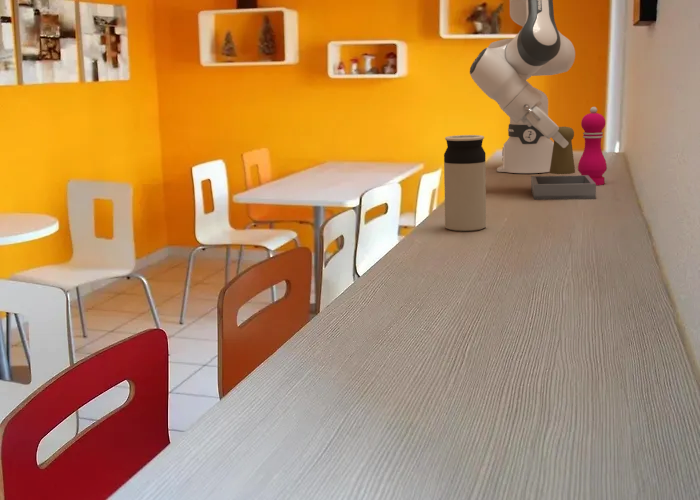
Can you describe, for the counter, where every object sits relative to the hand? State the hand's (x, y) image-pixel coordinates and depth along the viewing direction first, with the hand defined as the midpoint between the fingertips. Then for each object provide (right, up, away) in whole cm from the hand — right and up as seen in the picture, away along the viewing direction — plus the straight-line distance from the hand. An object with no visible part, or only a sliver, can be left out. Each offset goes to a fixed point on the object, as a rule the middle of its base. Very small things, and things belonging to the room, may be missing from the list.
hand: (565, 144), depth 195 cm
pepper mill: (+12, -8, +18) cm, 23 cm away
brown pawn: (0, -7, +1) cm, 7 cm away
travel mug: (-29, -21, -35) cm, 50 cm away
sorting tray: (0, -12, +3) cm, 12 cm away
